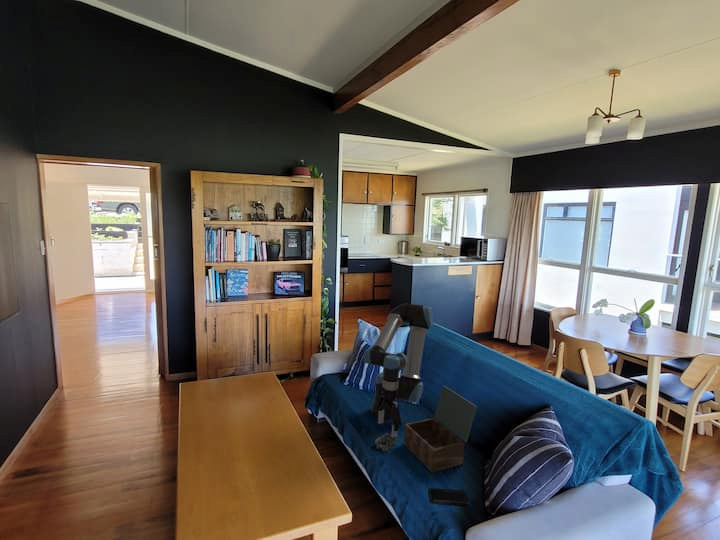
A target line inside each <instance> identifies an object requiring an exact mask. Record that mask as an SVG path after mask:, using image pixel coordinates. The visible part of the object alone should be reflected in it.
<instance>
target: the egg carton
mask: <svg viewBox="0 0 720 540" xmlns="http://www.w3.org/2000/svg"><path fill="white" fill-rule="evenodd" d="M374 442H375V446H376V449H381V450H382V452H388V451H389V450H390V449H392V448H393V446H396V445H397V442H398V438H397V437H393V438H392V433H391V434H389V433H388V432H385V433H384V434H383V435H381V436H380V437H378V438H376V439H375V441H374ZM382 443H383V444H382ZM384 443H385V444H384Z"/></svg>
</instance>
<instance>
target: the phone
mask: <svg viewBox="0 0 720 540" xmlns="http://www.w3.org/2000/svg"><path fill="white" fill-rule="evenodd" d="M428 494H429V499H430V502H431V503H432V504H441V505H442V504H443V505H454V506H456V505H457V506H465V507H468V506H469V505H470V501H469V498H468V494H467V492H466V491H465V490H462V489H461V490H460V489H451V488H450V489H449V488H435V487H430V488H428Z"/></svg>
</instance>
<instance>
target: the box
mask: <svg viewBox="0 0 720 540" xmlns="http://www.w3.org/2000/svg"><path fill="white" fill-rule="evenodd" d="M403 431H404V433H403V446H405V447H406V448H407V449H408V450H409V451H410V452H411V454H413V455H414V456H415V457H416V458H417V459H418V461H420V462H421V464H423V465H424V466H425V467H426V468H427V470H429V472H431V473H432V474H433V473H437V472H439V471H440V472H441V471H444V470H447V469H446V468H448V469H450V468H449V467H451V468H454V467H453V466H455V467H458V466H461V464H462V465H463V463H464V455H465V454H464V453H465V442H464V441H463V440H462V439H461V438H459V437H458V436H457V435H455V434H454V433H453V432H452V431H450V430H449V429H448V428H447V427H445V426H444V425H443V424H441V423H440V422H439V421H438V420H436V419H435V418H434V417H433V418H427V419H423V420H418V421H414V422H407V423H405V424H404V430H403ZM457 465H458V466H457ZM443 469H444V470H443Z"/></svg>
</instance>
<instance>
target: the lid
mask: <svg viewBox="0 0 720 540" xmlns="http://www.w3.org/2000/svg"><path fill="white" fill-rule="evenodd" d="M477 408H478V406H477V405H475V404H474V403H472V402H470V401H469V400H467V399H466V398H465V397H463V396H461V395H460V394H459V393H456V392H455V391H454V390H452V389H450V388H449V387H447V386H445V385H443V386H442V388H441V391H440V395H439V398H438V402H437V406H436V409H435V412H434V416H433V418H434V419H435V420H436V421H438V422H439V423H440V424H441V425H443V426H444V427H445V428H446V429H448V430H449V431H450V432H451V433H453V434H454V435H455V436H457V437H458V438H459V439H460V440H462V441H463V442H464V443H467V442H468V440H469V439H468V438H469V436H470V432H471V429H472V425H473V422H474V419H475V416H476V412H477Z"/></svg>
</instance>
